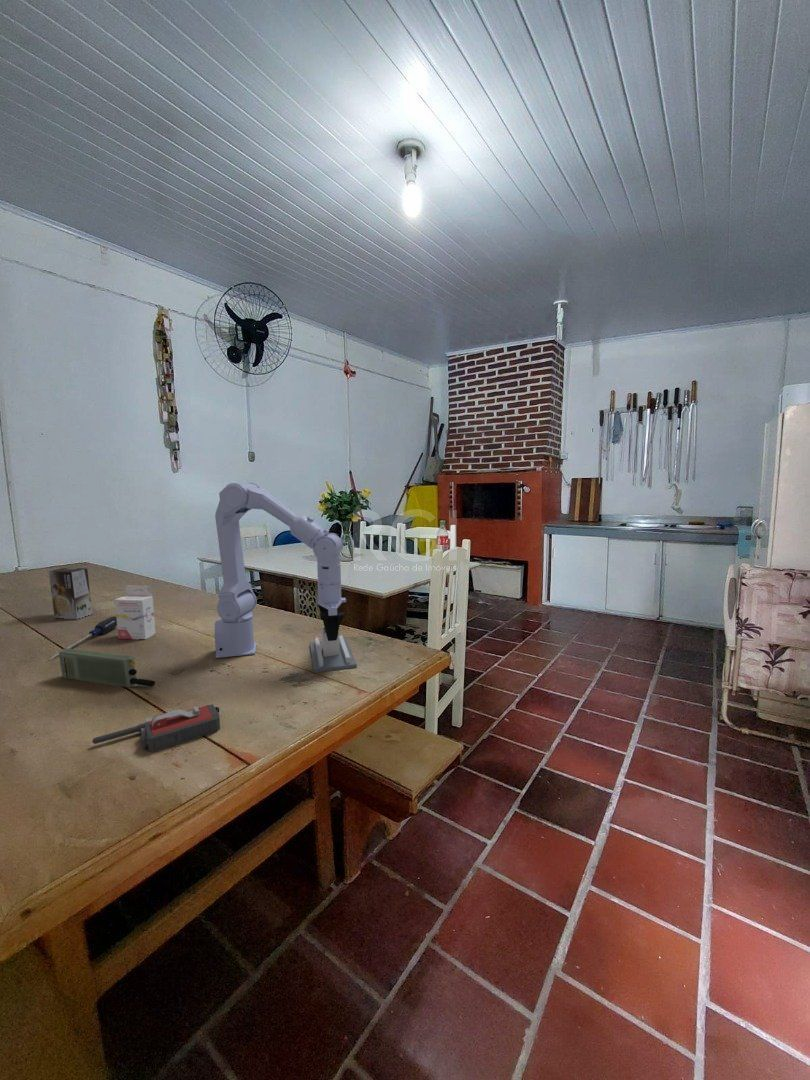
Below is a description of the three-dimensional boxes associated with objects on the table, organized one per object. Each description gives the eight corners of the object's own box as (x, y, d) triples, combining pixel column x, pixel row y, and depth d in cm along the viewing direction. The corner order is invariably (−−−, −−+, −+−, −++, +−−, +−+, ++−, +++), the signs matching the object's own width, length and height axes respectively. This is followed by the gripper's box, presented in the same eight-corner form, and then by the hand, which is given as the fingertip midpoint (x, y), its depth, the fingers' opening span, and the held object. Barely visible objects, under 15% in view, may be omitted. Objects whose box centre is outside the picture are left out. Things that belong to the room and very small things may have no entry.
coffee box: (93, 614, 152) (88, 567, 150) (77, 620, 145) (71, 571, 143) (70, 613, 153) (65, 567, 151) (53, 618, 147) (47, 571, 145)
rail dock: (313, 672, 104) (313, 662, 104) (309, 645, 121) (309, 637, 121) (356, 667, 107) (356, 658, 106) (346, 641, 124) (346, 633, 124)
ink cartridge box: (117, 639, 127) (112, 589, 125) (129, 633, 132) (124, 584, 130) (145, 640, 126) (140, 589, 124) (156, 634, 131) (152, 585, 129)
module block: (323, 656, 111) (322, 632, 111) (322, 650, 115) (321, 627, 114) (339, 654, 112) (339, 631, 112) (337, 649, 116) (337, 626, 115)
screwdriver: (56, 661, 112) (54, 646, 112) (41, 661, 112) (40, 646, 112) (122, 627, 138) (121, 615, 138) (111, 627, 138) (110, 615, 138)
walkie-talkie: (216, 710, 88) (92, 745, 76) (215, 689, 87) (90, 721, 76) (228, 730, 81) (93, 772, 69) (226, 707, 80) (91, 746, 69)
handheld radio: (74, 673, 105) (160, 685, 98) (60, 679, 102) (147, 692, 95) (69, 646, 104) (156, 657, 97) (55, 652, 101) (144, 663, 94)
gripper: (349, 588, 105) (350, 643, 107) (341, 575, 119) (343, 624, 121) (319, 590, 104) (320, 646, 106) (315, 577, 118) (316, 627, 119)
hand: (330, 635), depth 113 cm, fingers open, 7 cm apart
